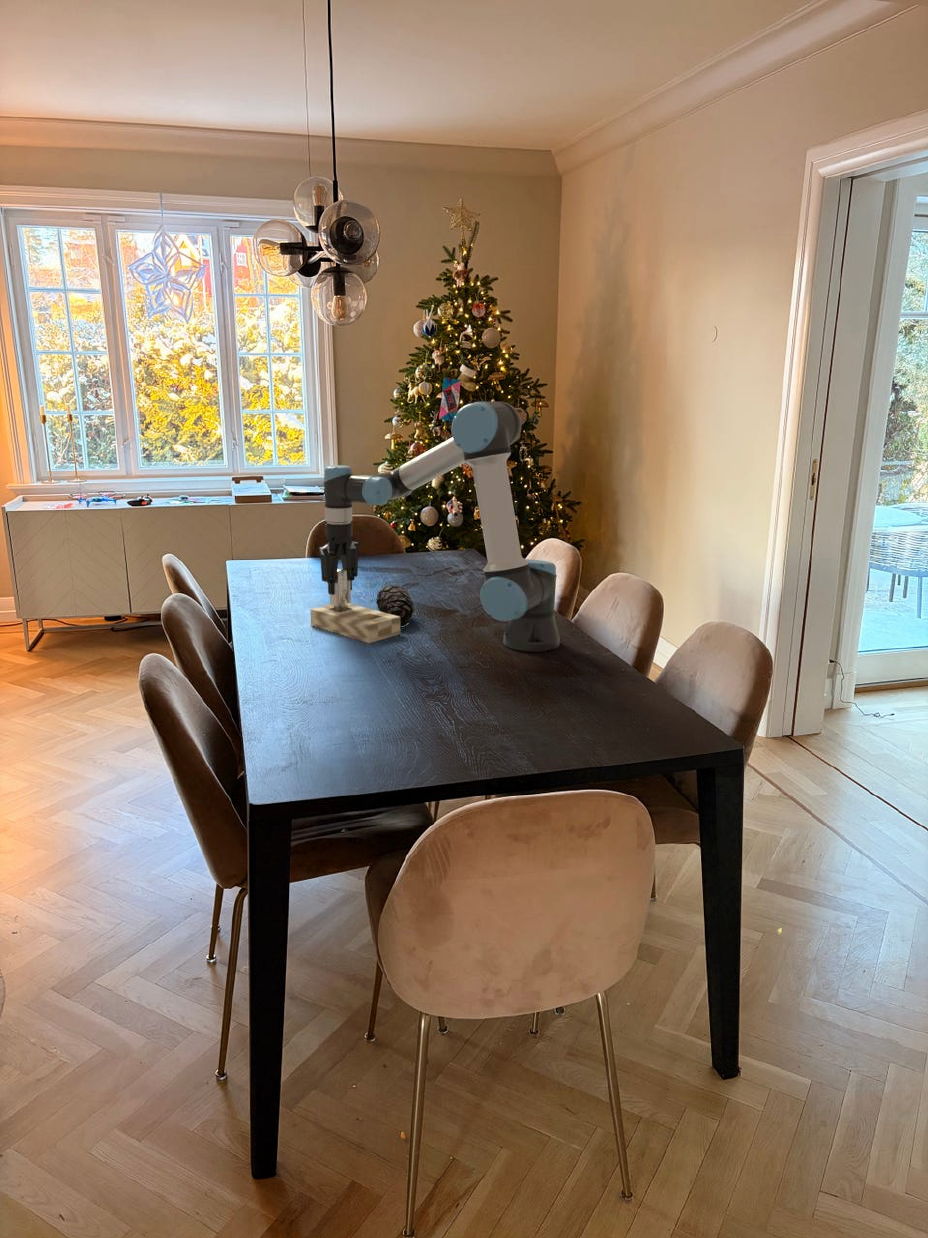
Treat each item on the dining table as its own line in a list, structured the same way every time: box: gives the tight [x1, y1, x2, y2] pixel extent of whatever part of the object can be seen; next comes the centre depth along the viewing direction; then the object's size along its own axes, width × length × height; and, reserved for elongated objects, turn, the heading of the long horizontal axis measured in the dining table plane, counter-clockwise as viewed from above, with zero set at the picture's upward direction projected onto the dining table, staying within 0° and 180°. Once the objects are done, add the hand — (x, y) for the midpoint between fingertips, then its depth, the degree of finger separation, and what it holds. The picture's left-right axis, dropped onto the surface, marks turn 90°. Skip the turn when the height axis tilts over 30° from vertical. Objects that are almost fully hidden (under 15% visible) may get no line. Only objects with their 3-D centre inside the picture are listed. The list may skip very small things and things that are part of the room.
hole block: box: [309, 603, 401, 644], centre depth 251 cm, size 24×12×5 cm, turn 49°
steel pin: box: [334, 568, 348, 612], centre depth 253 cm, size 4×4×14 cm
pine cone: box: [375, 584, 415, 626], centre depth 261 cm, size 10×18×10 cm, turn 23°
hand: (340, 603), depth 254 cm, fingers closed on steel pin, 4 cm apart
